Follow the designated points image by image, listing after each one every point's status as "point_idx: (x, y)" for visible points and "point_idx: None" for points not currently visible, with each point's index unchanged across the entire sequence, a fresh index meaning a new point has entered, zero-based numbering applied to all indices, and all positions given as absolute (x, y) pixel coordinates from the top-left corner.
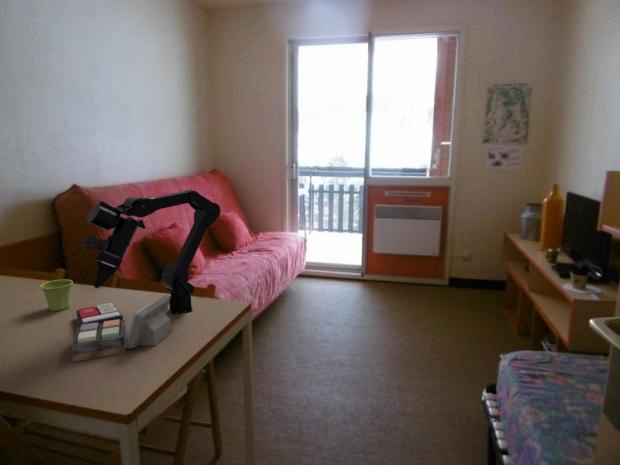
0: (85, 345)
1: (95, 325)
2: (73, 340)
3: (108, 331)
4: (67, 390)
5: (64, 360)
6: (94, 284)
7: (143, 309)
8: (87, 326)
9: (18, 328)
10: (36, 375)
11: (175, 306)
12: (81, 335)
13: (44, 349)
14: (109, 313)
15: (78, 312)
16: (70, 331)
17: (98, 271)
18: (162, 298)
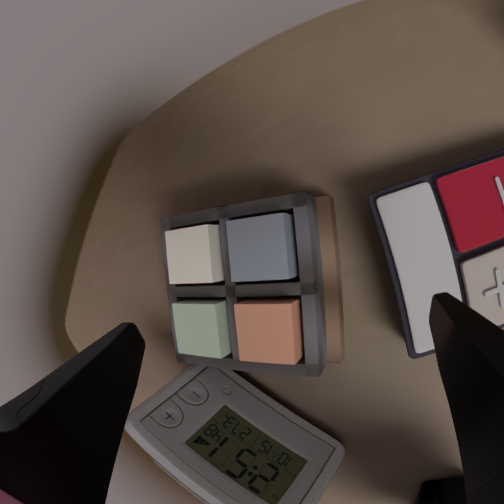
0: None
1: (256, 273)
2: (188, 213)
3: (190, 324)
4: (100, 243)
5: (195, 197)
6: (108, 332)
7: (147, 451)
8: (256, 241)
9: (447, 2)
10: (152, 161)
11: (431, 501)
12: (183, 237)
13: (279, 112)
14: None
15: None
16: (412, 147)
17: (16, 401)
18: None
